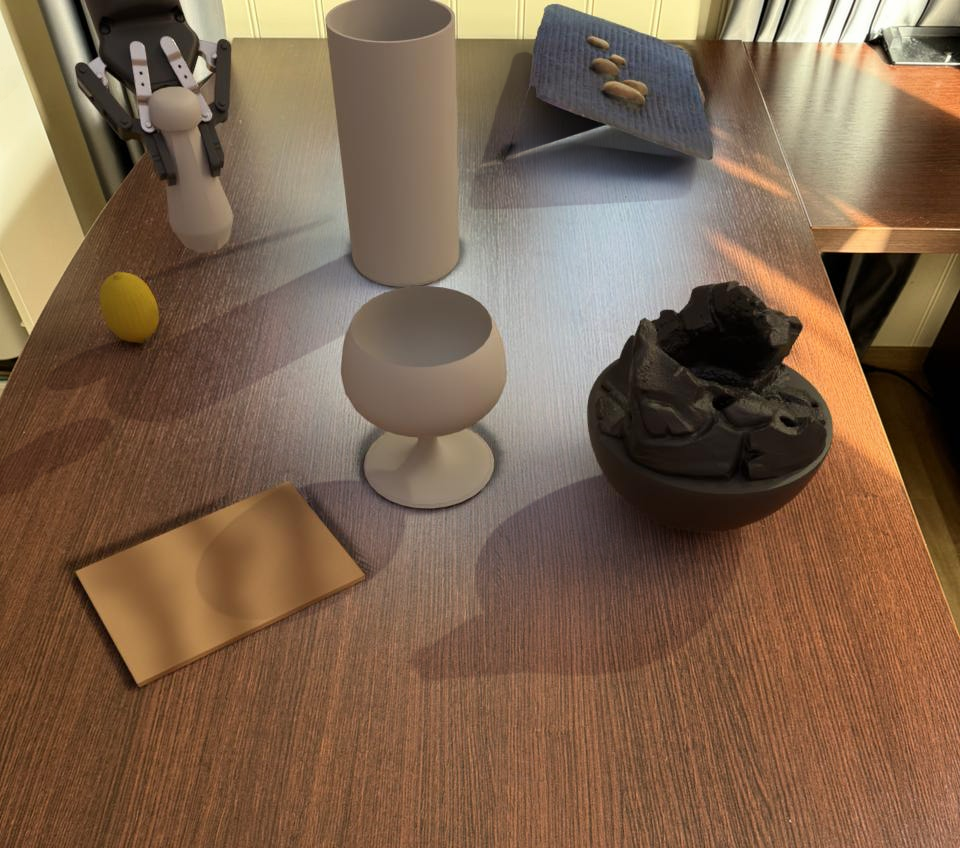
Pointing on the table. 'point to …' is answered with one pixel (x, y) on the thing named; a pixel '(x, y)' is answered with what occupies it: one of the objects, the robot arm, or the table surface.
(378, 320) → the chalice
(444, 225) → the cylinder vase
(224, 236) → the salt shaker
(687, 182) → the table surface
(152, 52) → the robot arm
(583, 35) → the mat
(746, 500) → the bowl of black rocks
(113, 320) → the lemon
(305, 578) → the cork mat
